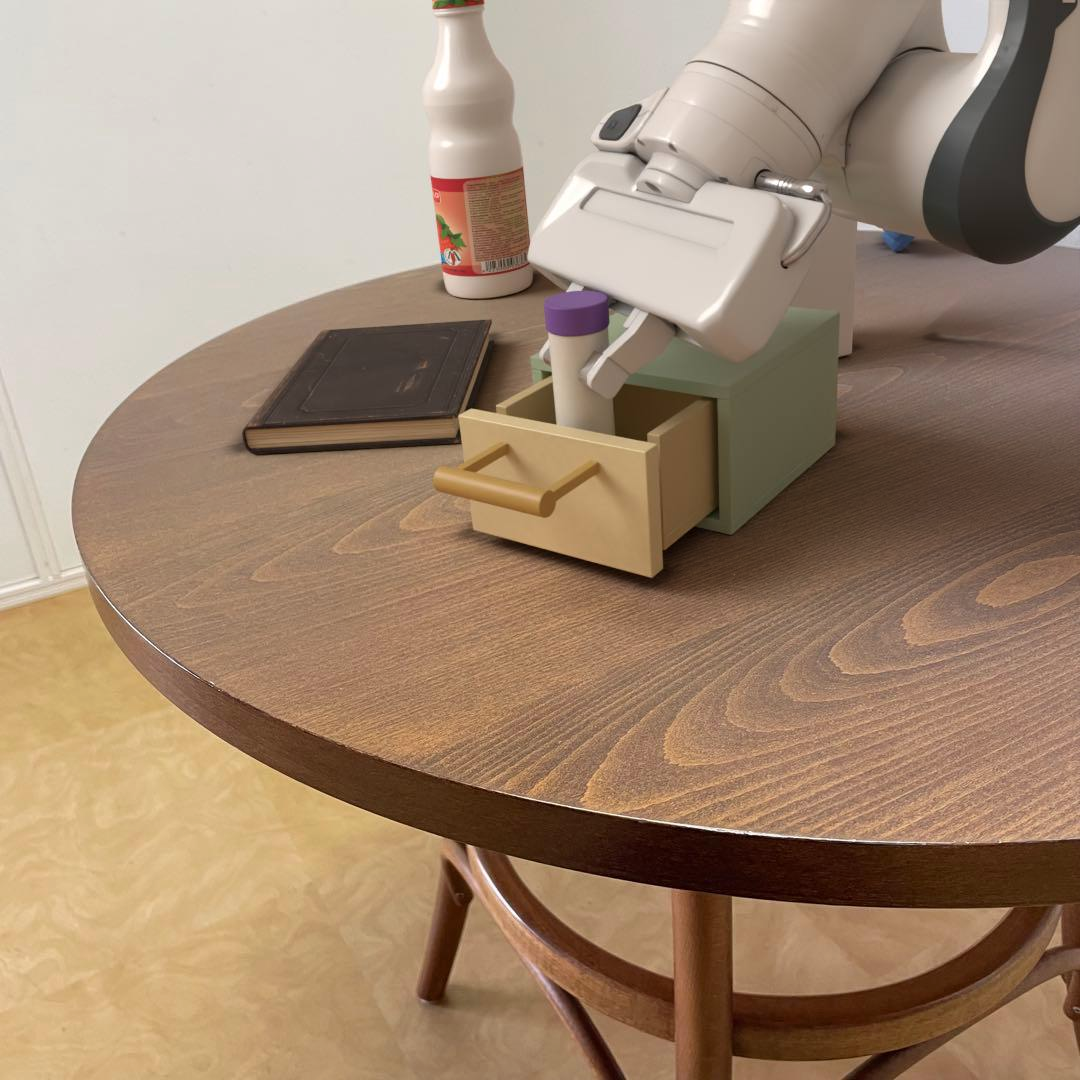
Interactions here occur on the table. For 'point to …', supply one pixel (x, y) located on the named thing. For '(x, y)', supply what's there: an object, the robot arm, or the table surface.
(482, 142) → the fruit juice
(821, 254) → the milk carton
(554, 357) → the glue stick
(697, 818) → the table surface
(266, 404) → the hardcover book
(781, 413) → the cabinet
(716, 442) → the drawer
